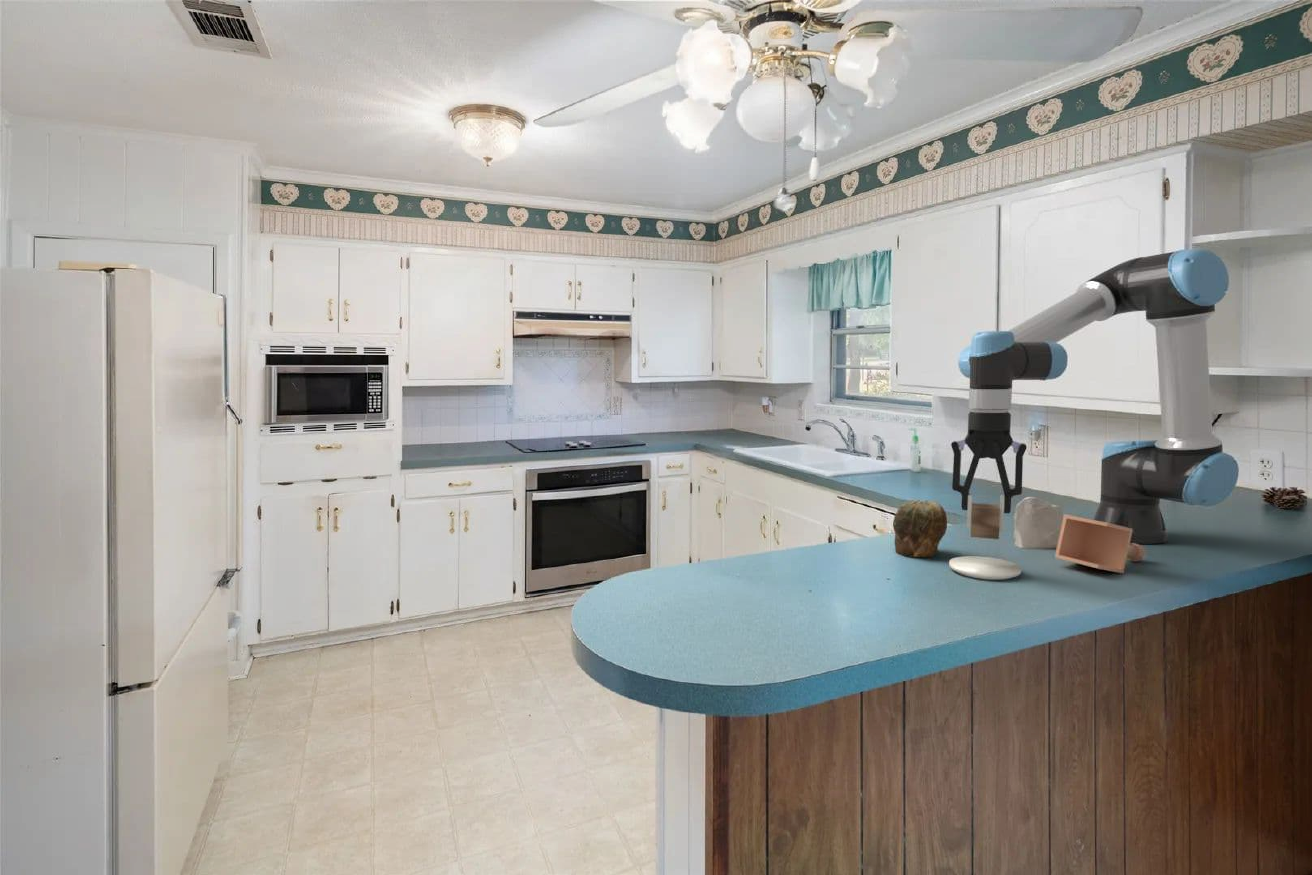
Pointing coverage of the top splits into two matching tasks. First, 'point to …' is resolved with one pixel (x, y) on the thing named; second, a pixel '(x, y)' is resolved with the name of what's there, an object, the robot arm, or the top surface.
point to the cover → (1097, 544)
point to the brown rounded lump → (919, 528)
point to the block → (985, 520)
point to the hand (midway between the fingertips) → (985, 527)
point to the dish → (985, 567)
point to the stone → (1037, 524)
